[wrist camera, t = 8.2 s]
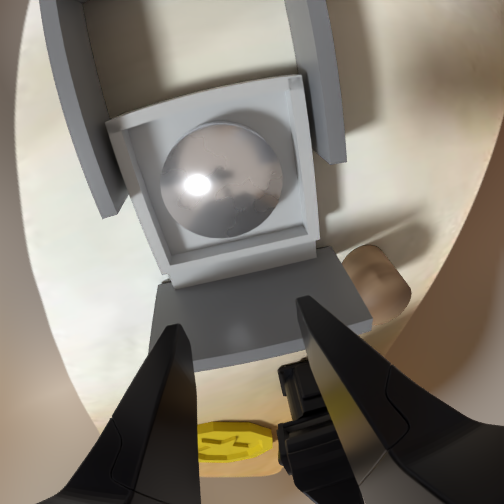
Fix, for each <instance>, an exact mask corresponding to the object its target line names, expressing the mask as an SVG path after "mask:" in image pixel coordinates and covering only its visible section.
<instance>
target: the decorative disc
mask: <svg viewBox="0 0 504 504" xmlns="http://www.w3.org/2000/svg"><path fill="white" fill-rule="evenodd" d="M197 432H198V459H199V462H212V463H229V462H234V461H239V460H244V459H249V458H254V457H257V456H259V455H260V454H262V453H264V452H266V451H268V450H270V449H271V448H272V433H271V429H268V428H265V427H262V426H259V425H256V424H253V423H250V422H208V423H203V424H199V425H197Z"/></svg>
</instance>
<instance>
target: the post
mask: <svg viewBox="0 0 504 504" xmlns="http://www.w3.org/2000/svg"><path fill="white" fill-rule="evenodd" d="M342 265H343V267H344V269H345V270H346V272H347V274H348V275H349V277H350V279H351V280H352V282H353V284H354V285H355V287H356V289H357V291H358V292H359V294H360V296H361V298H362V299H363V301H364V303H365V305H366V306H367V308H368V310H369V312H370V314H371V315H372V317H373V322H372V325H380V324H384V323H387V322H389V321H391V320H393V319H394V318H396V317H397V316H398V315H399V314H401V313H402V312H403V311H404V309H405V308H406V307H407V305H408V303H409V301H410V299H411V289H410V287H409V286H408V284H407V283H406V281H405V280H404V279H403V277H402V276H401V275H400V273H399V272H398V271H397V270H396V268H395V267H394V266H393V264H392V263H391V262H390V260H389V259H388V258H387V257H386V255H385V254H384V253H383V252H382V250H381V249H380V248H378V247H376V246H373V245H365V246H361V247H359V248H357V249H355V250H353V251H352V252H351V253H349V254H348V255H347V256H346V258H345V259H344V260H343V262H342Z"/></svg>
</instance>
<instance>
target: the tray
mask: <svg viewBox="0 0 504 504" xmlns="http://www.w3.org/2000/svg"><path fill="white" fill-rule="evenodd" d="M212 121H232V122H237V123H240V124H243V125H245V126H248V127H249V128H251V129H253V130H254V131H256V132H257V133H259V134H260V135H261V136H262V137H263V138H264V139H265V140H266V142H267V143H268V144H269V146H270V147H271V148H272V150H273V151H274V152H275V154H276V156H277V158H278V160H279V163H280V166H281V170H282V178H283V183H282V191H281V195H280V198H279V201H278V203H277V205H276V207H275V209H274V210H273V212H272V213H271V214H270V216H269V217H268V218H267V219H266V220H265V221H264V222H263V223H262V224H260V225H259V226H258V227H256V228H255V229H253V230H251V231H249V232H247V233H245V234H242V235H239V236H236V237H231V238H220V239H219V238H209V237H204V236H200V235H197V234H195V233H193V232H190V231H189V230H187V229H185V228H184V227H183V226H181V225H180V224H179V223H178V222H177V221H176V220H175V219H174V218H173V217H172V216H171V214H170V213H169V211H168V210H167V208H166V206H165V204H164V201H163V198H162V194H161V187H160V180H161V173H162V169H163V166H164V163H165V160H166V158H167V156H168V154H169V152H170V150H171V148H172V147H173V145H174V144H175V143H176V141H177V140H178V139H179V138H180V137H181V136H182V135H184V134H185V133H186V132H187V131H189V130H190V129H192V128H194V127H196V126H198V125H200V124H204V123H207V122H212ZM105 125H106V128H107V131H108V134H109V138H110V141H111V144H112V147H113V150H114V153H115V156H116V159H117V162H118V165H119V168H120V170H121V173H122V176H123V179H124V182H125V185H126V187H127V190H128V193H129V195H130V198H131V201H132V203H133V206H134V209H135V211H136V214H137V216H138V219H139V221H140V224H141V226H142V229H143V231H144V234H145V236H146V239H147V241H148V243H149V246H150V248H151V251H152V253H153V255H154V258H155V260H156V262H157V264H158V267H159V269H160V271H161V274H162V275H165V274H168V275H169V278H170V280H171V282H170V283H165V284H160V285H158V289H157V295H156V301H155V308H154V314H153V321H152V328H151V336H150V344H149V352H150V351H151V349H152V348H153V346H154V344H155V343H156V341H157V339H158V338H159V336H160V334H161V333H162V331H163V330H164V328H165V327H166V326H167V325H169V324H174V323H180V324H181V325H182V327H183V329H184V331H185V333H186V335H187V337H188V338H189V341H190V344H191V350H192V359H193V367H194V372H200V371H206V370H212V369H217V368H223V367H228V366H234V365H239V364H244V363H249V362H254V361H258V360H263V359H268V358H272V357H277V356H281V355H285V354H289V353H294V352H298V351H302V350H306V349H305V345H304V342H303V338H302V334H301V331H300V327H299V323H298V318H297V310H296V301H295V300H296V298H297V297H300V296H304V295H311V296H312V297H313V298H314V299H315V300H317V301H318V302H319V303H320V304H321V305H323V306H324V307H325V308H326V309H327V310H328V311H330V312H331V313H332V314H333V315H334V316H336V317H337V318H338V319H339V320H340V321H342V322H343V323H344V324H345V325H346V326H347V327H349V328H350V329H351V330H352V331H353V332H355V333H356V334H357V335H359V334H362V333H365V332H369V331H371V328H372V322H373V317H372V315H371V314H370V312H369V310H368V308H367V306H366V305H365V303H364V301H363V299H362V298H361V296H360V294H359V292H358V291H357V289H356V287H355V285H354V284H353V282H352V280H351V279H350V277H349V275H348V274H347V272H346V270H345V269H344V267H343V265H342V263H341V262H340V260H339V259H338V257H337V255H336V254H335V252H334V250H333V249H332V247H331V246H329V247H325V248H321V249H316V240H320V232H319V218H318V206H317V194H316V184H315V174H314V164H313V155H312V146H311V138H310V130H309V122H308V115H307V108H306V101H305V94H304V87H303V81H302V75H296V74H290V75H282V76H275V77H268V78H262V79H256V80H250V81H244V82H239V83H234V84H229V85H224V86H219V87H215V88H210V89H206V90H202V91H198V92H194V93H190V94H186V95H182V96H179V97H175V98H171V99H168V100H164V101H161V102H158V103H154V104H151V105H148V106H145V107H142V108H139V109H136V110H133V111H130V112H127V113H124V114H122V115H119V116H116V117H114V118H112V119H110V120H108V121H107V122H105ZM149 352H148V354H149Z"/></svg>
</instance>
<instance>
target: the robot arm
mask: <svg viewBox="0 0 504 504" xmlns="http://www.w3.org/2000/svg"><path fill="white" fill-rule="evenodd" d="M295 301H296V310H297V318H298V323H299V327H300V331H301V334H302V338H303V342H304V345H305V349H306V353H307V357H308V360H309V361H306V362H302V363H298V364H294V365H290V366H286V367H282V368H279V369H278V375H279V380H280V384H281V389H282V393H283V396H287V399H288V403H289V407H290V412H291V416H292V420H293V421H290V422H286V423H280V424H278V430H276V431H277V436H278V442H279V452H278V462H279V464H280V465H282V466H284V468H285V469H286V471H287V473H288V474H289V475H292V476H293V480H294V483H295V485H296V487H297V488H298V489H299V490H300V491H301V492H303V493H304V494H305V495H306V496H307V497H309V498H310V499H311V500H312V501H313V502H314V503H316V504H364V501H365V503H366V504H504V426H499V425H491V424H485V423H481V422H478V421H475V420H472V419H470V418H468V417H466V416H465V415H463V414H461V413H460V412H458V411H457V410H455V409H454V408H452V407H451V406H449V405H447V404H446V403H444V402H443V401H441V400H440V399H438V398H437V397H435V396H433V395H432V394H430V393H429V392H427V391H426V390H425V389H423V388H422V387H420V386H419V385H417V384H416V383H415V382H413V381H412V380H411V379H410V378H408V377H407V376H406V375H404V374H403V373H402V372H401V371H400V370H398V369H397V368H396V367H395V366H394V365H391V363H390V362H389V361H387V359H385V358H384V357H383V356H382V355H381V354H379V353H378V352H377V351H376V350H375V349H374V348H372V347H371V346H370V345H369V344H368V343H366V342H365V341H364V340H363V339H362V338H361V337H359V336H358V335H357V334H356V333H355V332H353V331H352V330H351V329H350V328H349V327H347V326H346V325H345V324H344V323H343V322H342V321H340V320H339V319H338V318H337V317H336V316H334V315H333V314H332V313H331V312H330V311H328V310H327V309H326V308H325V307H324V306H323V305H321V304H320V303H319V302H318V301H317V300H315V299H314V298H313V297H312V296H311V295H304V296H300V297H297V298H296V300H295ZM362 496H363V497H362ZM363 498H364V500H363ZM37 504H201V496H200V481H199V459H198V432H197V391H196V383H195V375H194V367H193V359H192V350H191V344H190V341H189V338H188V337H187V335H186V333H185V331H184V329H183V327H182V325H181V324H180V323H174V324H169V325H167V326H166V327H165V328H164V330H163V331H162V333H161V334H160V336H159V338H158V339H157V341H156V343H155V344H154V346H153V348H152V349H151V351H150V352H149V354H148V356H147V357H146V359H145V361H144V362H143V364H142V366H141V367H140V369H139V371H138V372H137V374H136V376H135V377H134V379H133V381H132V382H131V384H130V386H129V387H128V389H127V391H126V393H125V394H124V396H123V398H122V399H121V401H120V403H119V405H118V406H117V408H116V410H115V411H114V413H113V415H112V418H110V420H109V422H108V423H107V425H106V427H105V429H104V430H103V432H102V434H101V435H100V437H99V439H98V440H97V442H96V443H95V445H94V446H93V448H92V449H91V451H90V452H89V454H88V455H87V457H86V458H85V459H84V461H83V462H82V464H81V465H80V466H79V468H78V469H77V471H76V472H75V473H74V475H73V476H72V478H71V479H70V481H69V482H68V483H67V485H66V486H65V487H64V488H63V489H62V490H61V491H60V492H58V493H57V494H56V495H54V496H52V497H50V498H48V499H46V500H44V501H41V502H39V503H37Z"/></svg>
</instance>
